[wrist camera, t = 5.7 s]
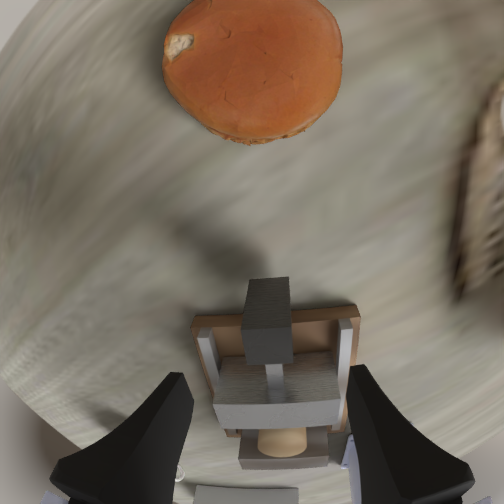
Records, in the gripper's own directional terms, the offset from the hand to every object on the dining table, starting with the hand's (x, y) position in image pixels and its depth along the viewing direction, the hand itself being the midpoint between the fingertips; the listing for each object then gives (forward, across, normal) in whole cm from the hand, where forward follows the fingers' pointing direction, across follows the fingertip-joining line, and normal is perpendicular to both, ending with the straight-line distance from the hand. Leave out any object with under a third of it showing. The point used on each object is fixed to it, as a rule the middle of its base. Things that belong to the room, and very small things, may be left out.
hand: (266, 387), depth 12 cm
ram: (+8, 0, +3) cm, 8 cm away
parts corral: (+10, +7, +43) cm, 45 cm away
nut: (+8, 0, +13) cm, 15 cm away
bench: (+9, 0, +10) cm, 14 cm away
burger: (+10, 0, -14) cm, 17 cm away
